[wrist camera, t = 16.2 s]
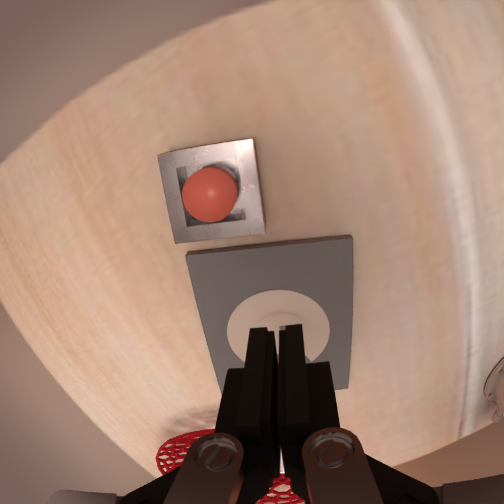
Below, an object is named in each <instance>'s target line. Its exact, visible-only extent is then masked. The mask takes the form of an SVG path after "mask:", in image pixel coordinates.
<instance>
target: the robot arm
mask: <svg viewBox="0 0 504 504" xmlns="http://www.w3.org/2000/svg"><path fill="white" fill-rule="evenodd" d="M484 393H485V396H486V398H487V399H488V400H489V401H491V402H496V403H497V410H496V411H495V413H494V415H493V416H492V421H493V422H496V423H497V422H499V421H500V419H501V418H502V416H503V413H504V358H503V359H502V360H501V362H500V363H499V364H498V365H497V366H496V367H495V369H494V370H493V371H492V373H491V375H490V376H489V378H488V380H487V382H486V385H485V389H484ZM281 453H282V460H283V466H284V473H285V478H290V482H291V490H292V492H293V493H295V494H296V495H297V496H299V497H300V498H301V499H303V500H304V503H305V504H504V474H499V475H495V476H490V477H484V478H480V479H474V480H467V481H460V482H453V483H444V484H443V485H442V486H439V487H430V486H428V485H427V484H425V483H422V482H420V481H418V480H416V479H414V478H412V477H410V476H408V475H406V474H403V473H401V472H399V471H397V470H395V469H393V468H391V467H389V466H387V465H385V464H383V463H382V462H380V461H378V460H376V459H374V458H372V457H370V456H368V455H366V454H365V453H364V450H363V448H362V445H361V443H360V441H359V439H358V438H357V436H356V435H355V434H353V433H352V432H351V431H349V430H346V429H343V428H340V423H339V416H338V410H337V403H336V397H335V391H334V385H333V379H332V373H331V367H330V363H329V361H325V362H315V363H306V360H305V348H304V338H303V327H302V324H294V325H285V330H279V365H278V357H277V349H276V341H275V334H274V331H268V328H267V327H257V328H250V330H249V337H248V344H247V351H246V358H245V364H244V368H229V369H228V370H227V374H226V379H225V383H224V388H223V393H222V398H221V402H220V407H219V412H218V417H217V422H216V426H215V431H214V433H210V434H206V435H204V436H202V437H200V438H198V439H197V440H196V441H194V442H193V443H192V445H191V446H190V448H189V449H188V452H187V454H186V456H185V458H184V460H183V462H182V464H181V465H180V466H179V467H177V468H175V469H173V470H172V471H170V472H168V473H166V474H164V475H163V476H161V477H159V478H157V479H155V480H153V481H152V482H150V483H148V484H146V485H144V486H142V487H140V488H138V489H136V490H134V491H132V492H130V493H128V494H127V495H126V496H118V495H117V494H115V493H97V492H84V491H73V490H59V491H56V492H54V493H53V495H51V496H50V498H49V500H48V503H47V504H259V502H260V499H261V498H262V497H264V496H265V495H266V494H268V493H269V488H270V487H273V478H280V463H281Z"/></svg>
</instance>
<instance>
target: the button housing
mask: <svg viewBox="0 0 504 504" xmlns="http://www.w3.org/2000/svg"><path fill="white" fill-rule="evenodd" d="M157 156H158V161H159V167H160V172H161V178H162V183H163V188H164V193H165V198H166V203H167V208H168V213H169V218H170V222H171V227H172V232H173V236H174V241H175V244H178V243H186V242H195V241H204V240H212V239H221V238H230V237H239V236H248V235H258V234H265V227H266V221H265V214H264V206H263V198H262V191H261V183H260V175H259V168H258V161H257V153H256V146H255V139H254V138H249V139H241V140H234V141H227V142H221V143H214V144H208V145H202V146H197V147H191V148H186V149H180V150H175V151H170V152H166V153H162V154H159V155H157ZM214 164H216V165H222V166H225V167H227V168H228V169H230V170H231V171H232V172H233V173H234V174H235V175H236V177H237V179H238V181H239V186H240V192H239V197H238V199H237V201H236V203H235V206H234V208H233V210H232V211H231V212H230V214H229V215H228V216H226V217H225V218H224V219H222V220H220V221H216V222H203V221H200V220H198V219H196V218H194V217H193V216H192V215H191V214H190V213H189V212H188V211H187V209H186V208H185V206H184V203H183V198H182V191H183V187H184V184H185V182H186V181H187V179H188V178H189V177H190V176H191V175H192V174H193V173H195V172H197V171H198V170H200V169H201V168H203V167H205V166H208V165H214Z"/></svg>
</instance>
